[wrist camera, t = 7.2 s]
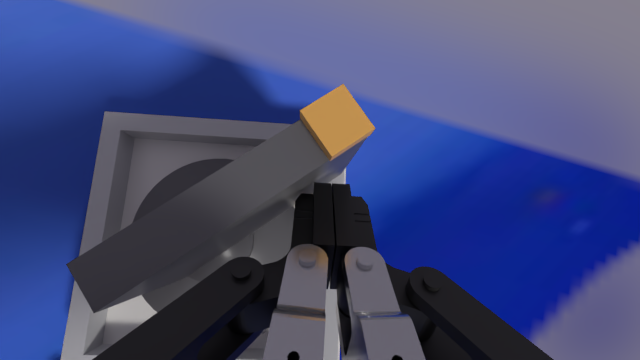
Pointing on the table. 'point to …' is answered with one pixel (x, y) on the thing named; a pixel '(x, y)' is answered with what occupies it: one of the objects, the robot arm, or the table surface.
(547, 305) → the table surface
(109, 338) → the panel
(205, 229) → the dial
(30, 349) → the table surface
